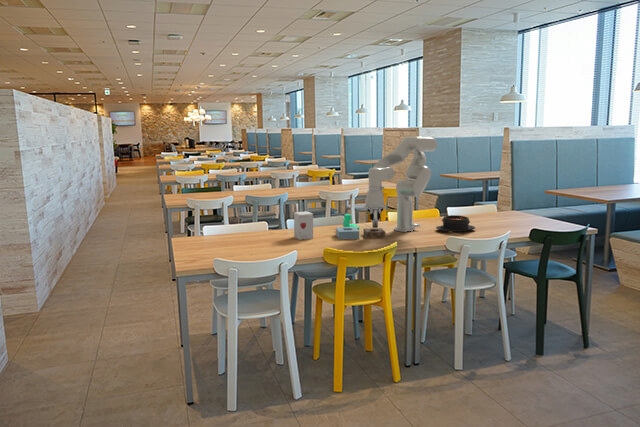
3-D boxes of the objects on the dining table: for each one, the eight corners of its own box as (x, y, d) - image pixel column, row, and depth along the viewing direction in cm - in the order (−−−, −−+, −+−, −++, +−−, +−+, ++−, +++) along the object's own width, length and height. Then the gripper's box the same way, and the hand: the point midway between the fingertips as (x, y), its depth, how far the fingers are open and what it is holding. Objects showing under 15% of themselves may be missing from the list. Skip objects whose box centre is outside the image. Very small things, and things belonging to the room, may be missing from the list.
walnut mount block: (381, 233, 295) (381, 228, 295) (385, 237, 285) (385, 232, 284) (363, 234, 294) (363, 228, 294) (366, 238, 284) (366, 232, 283)
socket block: (356, 234, 295) (356, 226, 294) (359, 238, 283) (359, 231, 282) (336, 234, 294) (336, 227, 293) (338, 239, 282) (338, 231, 281)
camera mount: (359, 231, 302) (359, 215, 300) (347, 232, 301) (347, 215, 299) (354, 227, 314) (354, 212, 312) (343, 228, 312) (343, 212, 310)
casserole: (464, 226, 315) (465, 213, 314) (481, 232, 298) (482, 218, 296) (429, 229, 308) (430, 215, 307) (445, 235, 291) (446, 221, 289)
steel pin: (377, 226, 291) (377, 208, 288) (378, 227, 288) (378, 209, 285) (372, 226, 290) (371, 208, 288) (373, 228, 287) (373, 209, 285)
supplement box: (298, 240, 280) (298, 214, 277) (293, 236, 288) (293, 212, 286) (313, 238, 283) (313, 213, 281) (308, 235, 292) (308, 210, 289)
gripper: (387, 187, 289) (387, 217, 292) (360, 188, 287) (360, 219, 291) (390, 189, 281) (390, 220, 285) (362, 190, 280) (362, 221, 284)
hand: (375, 219), depth 288 cm, fingers closed on steel pin, 3 cm apart
